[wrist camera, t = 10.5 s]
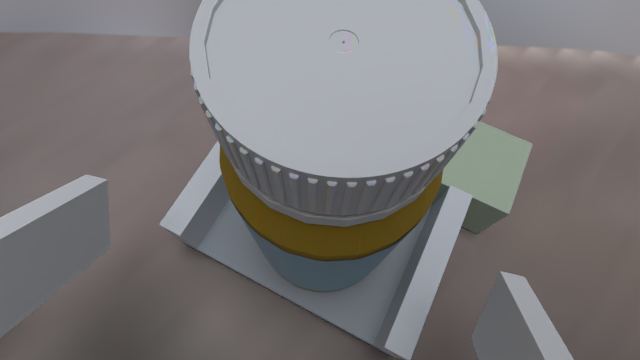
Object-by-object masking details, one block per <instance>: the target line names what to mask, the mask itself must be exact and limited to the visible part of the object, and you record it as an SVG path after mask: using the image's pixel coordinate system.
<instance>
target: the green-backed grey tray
mask: <svg viewBox="0 0 640 360" xmlns="http://www.w3.org/2000/svg"><path fill="white" fill-rule="evenodd" d="M532 145H533V144H532V143H530V142H527V141H525V140H523V139H520V138H518V137H516V136H513V135H511V134H509V133H506V132H504V131H502V130H499V129H497V128H495V127H492V126H490V125H488V124H485V123H483V122H481V121H479V124H478V126H477V127H476V129H475V130H474V131H473V133H472V134H471V135H470V136H469V138H468V139H467V140H466V141H465V143H464V144H463V145H462V146H461V148H460V149H459V150H458V151H457V153H456V154H455V155H454V156H453V158H452V159H451V160H450V161H449V163H448V164H447V165H446V166H445V168H444V169H443V175H442V182H441V185H440V188H439V191H438V193H437V194H436V196H435V198H434V200H433V202H432V204H431V205H430V207H429V209H428V211H427V213H426V214H425V215H424V216H423V218H422V220H421V221H420V222H419V223H418V225H417V226H416V227H415V228H414V229H413V230H412V231H411V232H410V233H409V234H408V235H407V236H406V237H405V238H404V239H403V240H402V241H401V242H400V243H399V244H398V245H397V246H396V247H395V248H394V249H393V250H392V251H391V252H390V253H389V254H388V255H387V256H386V258H385V259H384V260H383V261H382V262H381V263H380V264H379V265H378V266H377V267H376V268H375V269H374V270H373V271H371V272H370V273H369V274H368V275H367V276H366V277H365V278H364V279H362V280H361V281H359V282H358V283H356V284H354V285H351V286H349V287H346V288H344V289H342V290H338V291H327V292H316V291H311V290H307V289H304V288H300V287H297V286H295V285H293V284H292V283H290V282H289V281H287V280H286V279H284V278H283V277H281V276H280V275H279V274H278V273H277V272H276V271H275V269H274V268H273V267H272V266H271V264H270V263H269V262H268V260H267V259H266V258H265V256H264V254H263V253H262V251H261V249H260V248H259V246H258V244H257V243H256V241H255V239H254V238H253V236H252V235H251V233H250V231H249V230H248V228H247V226H246V225H245V223H244V221H243V220H242V218H241V216H240V215H239V213H238V212H237V210H236V208H235V206H234V205H233V203H232V201H231V198H230V196H229V194H228V191H227V188H226V185H225V182H224V179H223V176H222V173H221V169H220V162H219V158H220V144H219V142H218V141H217V143H216V144H215V146H214V147H213V148H212V150H211V151H210V153H209V154H208V156H207V157H206V158H205V160H204V161H203V163H202V164H201V166H200V167H199V168H198V170H197V171H196V173H195V174H194V175H193V177H192V178H191V180H190V181H189V183H188V184H187V185H186V187H185V188H184V190H183V191H182V193H181V194H180V195H179V197H178V198H177V200H176V201H175V203H174V204H173V205H172V207H171V208H170V210H169V211H168V213H167V214H166V215H165V217H164V218H163V220H162V221H161V223H160V224H159V225H160V226H162V227H163V228H164V229H166V230H167V231H168V232H170V233H171V234H172V235H174V236H175V237H177V238H178V239H179V240H181V241H182V242H183V243H185V244H186V245H188V246H190V247H192V248H194V249H195V250H197V251H199V252H201V253H203V254H204V255H206V256H208V257H210V258H212V259H214V260H215V261H217V262H219V263H221V264H223V265H225V266H226V267H228V268H230V269H232V270H234V271H236V272H237V273H239V274H241V275H243V276H245V277H247V278H248V279H250V280H252V281H254V282H256V283H258V284H259V285H261V286H263V287H265V288H267V289H269V290H270V291H272V292H274V293H276V294H278V295H280V296H281V297H283V298H285V299H287V300H289V301H290V302H292V303H294V304H296V305H298V306H300V307H301V308H303V309H305V310H307V311H309V312H311V313H312V314H314V315H316V316H318V317H320V318H322V319H323V320H325V321H327V322H329V323H331V324H333V325H334V326H336V327H338V328H340V329H342V330H344V331H345V332H347V333H349V334H351V335H353V336H355V337H356V338H358V339H360V340H362V341H364V342H365V343H367V344H369V345H371V346H373V347H375V348H376V349H378V350H380V351H382V352H384V353H386V354H387V355H389V356H392V357H396V358H400V359H404V360H411V357H412V354H413V352H414V349H415V346H416V344H417V341H418V339H419V336H420V333H421V331H422V328H423V325H424V323H425V320H426V318H427V315H428V312H429V310H430V307H431V304H432V302H433V299H434V296H435V294H436V291H437V289H438V286H439V283H440V281H441V278H442V275H443V273H444V270H445V268H446V265H447V262H448V260H449V257H450V254H451V252H452V249H453V247H454V244H455V241H456V239H457V236H458V233H459V231H460V228H461V227H463V228H465V229H467V230H469V231H472V232H474V233H476V234H478V233H479V232H481V231H483V230H484V229H486V228H487V227H489V226H491V225H492V224H494V223H496V222H497V221H499V220H501V219H502V218H504V217H506V216H507V215H509V213H510V210H511V207H512V204H513V201H514V198H515V195H516V192H517V189H518V186H519V183H520V180H521V177H522V174H523V172H524V169H525V166H526V163H527V160H528V157H529V154H530V151H531V148H532Z"/></svg>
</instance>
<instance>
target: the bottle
mask: <svg viewBox="0 0 640 360" xmlns="http://www.w3.org/2000/svg"><path fill="white" fill-rule="evenodd" d="M189 61H190V64H191V71H190V73H191V77H192V79H193V81H194V85H193V87H194V90H195V92H196V94H197V96H198V98H199V99H198V100H199V102H200V104H201V107H202V109H203V111H204V113H205V115H206V117H207V119H208V121H209V123H210V125H211V127H212V129H213V131H214V133H215V135H216V137H217V139H218V142H219V144H220V158H219V162H220V169H221V173H222V176H223V179H224V182H225V185H226V188H227V191H228V194H229V196H230V198H231V201H232V203H233V205H234V206H235V208H236V210H237V212H238V213H239V215H240V216H241V218H242V220H243V221H244V223H245V225H246V226H247V228H248V230H249V231H250V233H251V235H252V236H253V238H254V239H255V241H256V243H257V244H258V246H259V248H260V249H261V251H262V253H263V254H264V256H265V258H266V259H267V260H268V262H269V263H270V264H271V266H272V267H273V268H274V269H275V271H276V272H277V273H278V274H279V275H280V276H281V277H283V278H284V279H286V280H287V281H289V282H290V283H292V284H293V285H295V286H297V287H300V288H304V289H307V290H311V291H316V292H327V291H338V290H342V289H344V288H346V287H349V286H351V285H354V284H356V283H358V282H359V281H361V280H362V279H364V278H365V277H366V276H367V275H368V274H369V273H370V272H371V271H373V270H374V269H375V268H376V267H377V266H378V265H379V264H380V263H381V262H382V261H383V260H384V259H385V258H386V256H387V255H388V254H389V253H390V252H391V251H392V250H393V249H394V248H395V247H396V246H397V245H398V244H399V243H400V242H401V241H402V240H403V239H404V238H405V237H406V236H407V235H408V234H409V233H410V232H411V231H412V230H413V229H414V228H415V227H416V226H417V225H418V223H419V222H420V221H421V220H422V218H423V216H424V215H425V214H426V213H427V211H428V209H429V207H430V205H431V204H432V202H433V200H434V198H435V196H436V194H437V193H438V191H439V188H440V185H441V182H442V175H443V169H444V168H445V166H446V165H447V164H448V163H449V161H450V160H451V159H452V158H453V156H454V155H455V154H456V153H457V151H458V150H459V149H460V148H461V146H462V145H463V144H464V143H465V141H466V140H467V139H468V138H469V136H470V135H471V134H472V133H473V131H474V130H475V129H476V127H477V126H478V124H479V121H480V120H481V118H482V117H483V116H484V114H485V112H486V106H487V105H488V104H489V102H490V100H491V94H492V91H493V88H494V85H495V81H496V75H497V67H498V54H497V45H496V39H495V35H494V32H493V28H492V25H491V23H490V20H489V18H488V16H487V14H486V12H485V10H484V8H483V7H482V5H481V3H480V2H479V0H203V1H202V3H201V5H200V7H199V9H198V12H197V14H196V16H195V19H194V23H193V26H192V31H191V37H190V57H189Z"/></svg>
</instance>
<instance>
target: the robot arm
mask: <svg viewBox="0 0 640 360" xmlns="http://www.w3.org/2000/svg"><path fill="white" fill-rule="evenodd" d="M109 249H110V231H109V205H108V180H107V179H103V178H99V177H94V176H90V175H84V176H82V177H80V178H78V179H76V180H74V181H72V182H70V183H68V184H66V185H64V186H62V187H60V188H58V189H56V190H54V191H52V192H50V193H48V194H46V195H44V196H42V197H40V198H38V199H36V200H34V201H32V202H30V203H28V204H26V205H24V206H22V207H20V208H18V209H16V210H14V211H12V212H10V213H8V214H6V215H4V216H2V217H0V338H1V337H3V336H4V335H5V334H6V333H7V332H9V331H10V330H11V329H12V328H14V327H15V326H16V325H17V324H18V323H20V322H21V321H22V320H23V319H25V318H26V317H27V316H28V315H29V314H31V313H32V312H33V311H34V310H36V309H37V308H38V307H39V306H40V305H42V304H43V303H44V302H45V301H47V300H48V299H49V298H50V297H51V296H53V295H54V294H55V293H56V292H58V291H59V290H60V289H61V288H62V287H64V286H65V285H66V284H67V283H68V282H70V281H71V280H72V279H73V278H75V277H76V276H77V275H78V274H79V273H81V272H82V271H83V270H84V269H86V268H87V267H88V266H89V265H90V264H92V263H93V262H94V261H95V260H97V259H98V258H99V257H100V256H101V255H103V254H104V253H105V252H106V251H108V250H109ZM471 338H472V342H473V345H474V348H475V352H476V355H477V358H478V360H574V359H573V357H572V356H571V354H570V352H569V351H568V349H567V347H566V346H565V344H564V342H563V341H562V339H561V337H560V336H559V334H558V332H557V331H556V329H555V327H554V325H553V324H552V322H551V320H550V319H549V317H548V315H547V314H546V312H545V310H544V309H543V307H542V305H541V304H540V302H539V300H538V299H537V297H536V295H535V293H534V292H533V290H532V288H531V287H530V285H529V283H528V282H527V280H526V278H525V277H523V276H519V275H515V274H510V273H506V272H502V271H500V272H499V275H498V277H497V279H496V281H495V284H494V286H493V288H492V290H491V293H490V295H489V297H488V299H487V302H486V304H485V306H484V308H483V311H482V313H481V315H480V317H479V320H478V322H477V324H476V326H475V329H474V331H473V333H472V335H471Z"/></svg>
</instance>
